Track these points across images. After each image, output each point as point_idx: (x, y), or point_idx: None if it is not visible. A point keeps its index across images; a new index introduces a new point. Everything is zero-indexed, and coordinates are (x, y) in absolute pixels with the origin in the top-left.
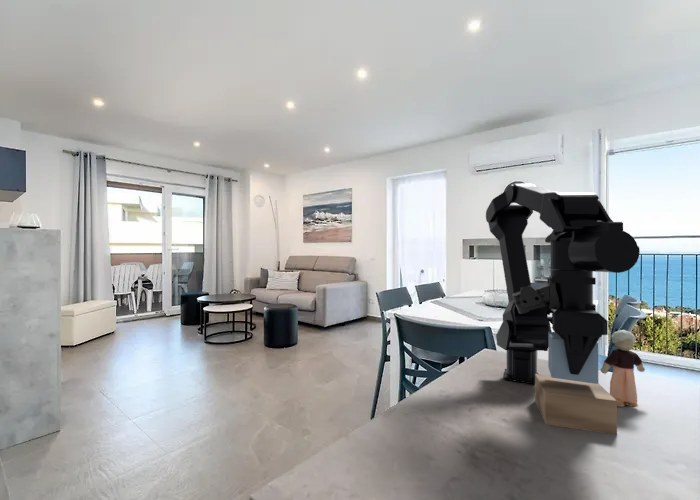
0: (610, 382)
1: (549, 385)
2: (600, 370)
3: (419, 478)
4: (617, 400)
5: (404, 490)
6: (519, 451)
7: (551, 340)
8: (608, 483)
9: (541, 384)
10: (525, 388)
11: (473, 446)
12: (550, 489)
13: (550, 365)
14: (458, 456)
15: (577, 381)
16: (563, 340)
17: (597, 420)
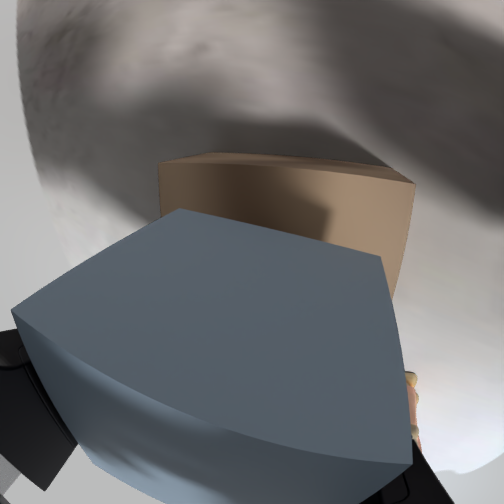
0: (410, 415)
1: (246, 199)
2: (415, 426)
3: (29, 8)
4: None
5: (19, 9)
6: (83, 90)
7: (22, 302)
8: (59, 207)
9: (247, 166)
10: (497, 178)
11: (82, 23)
12: (32, 133)
13: (220, 237)
14: (60, 18)
15: None
16: (9, 353)
17: None
